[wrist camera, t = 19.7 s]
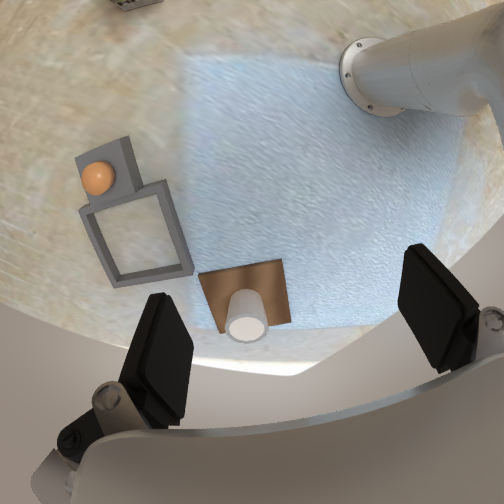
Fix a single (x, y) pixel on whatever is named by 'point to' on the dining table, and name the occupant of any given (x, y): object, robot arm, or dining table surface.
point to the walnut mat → (248, 277)
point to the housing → (123, 191)
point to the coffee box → (133, 3)
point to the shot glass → (246, 317)
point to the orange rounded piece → (98, 177)
